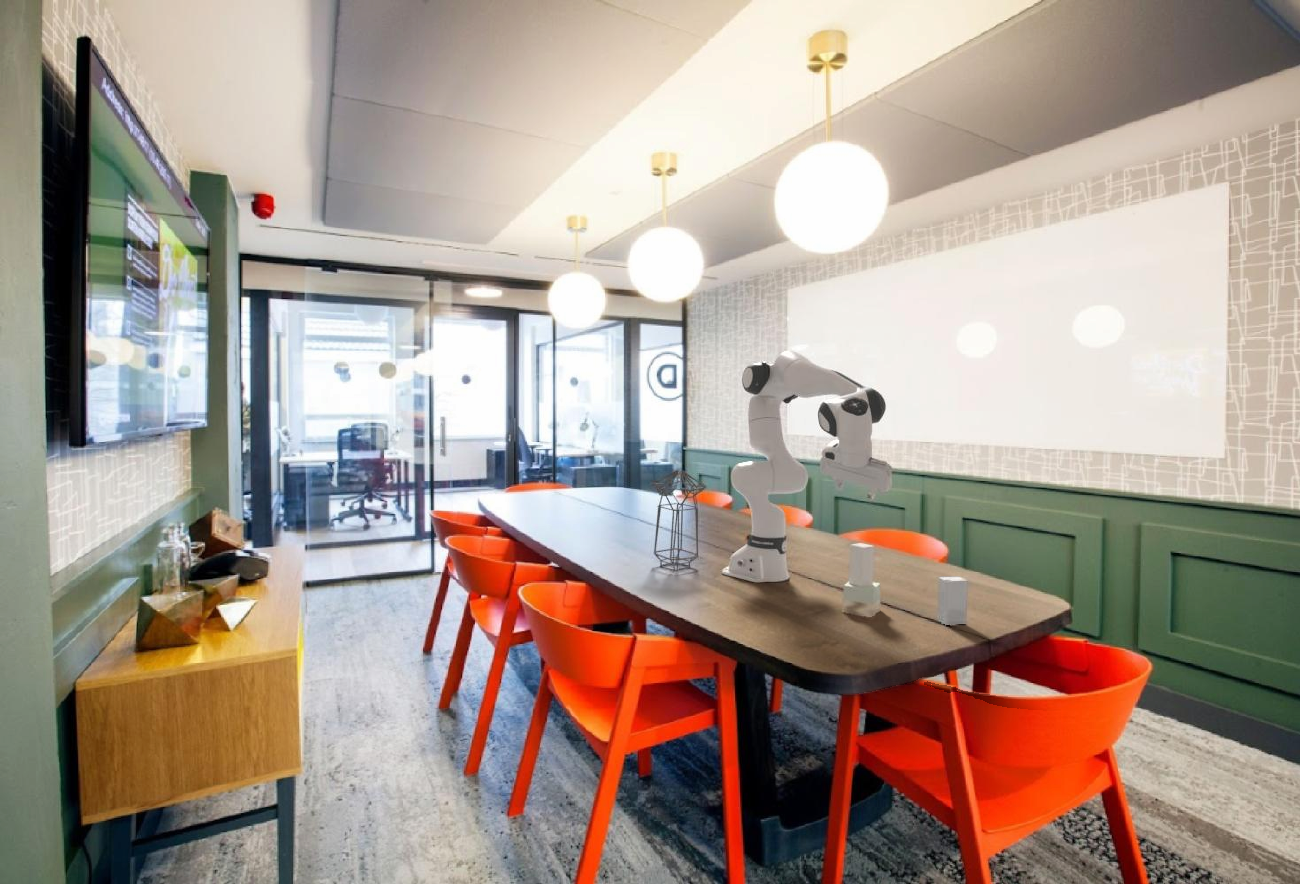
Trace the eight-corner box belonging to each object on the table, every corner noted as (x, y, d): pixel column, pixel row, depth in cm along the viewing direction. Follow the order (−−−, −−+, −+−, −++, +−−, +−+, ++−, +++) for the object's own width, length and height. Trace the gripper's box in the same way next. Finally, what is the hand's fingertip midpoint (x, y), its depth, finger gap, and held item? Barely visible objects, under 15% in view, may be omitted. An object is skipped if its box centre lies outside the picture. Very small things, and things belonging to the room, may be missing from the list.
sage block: (843, 599, 174) (843, 585, 174) (851, 592, 180) (851, 579, 180) (872, 604, 169) (873, 590, 169) (879, 597, 176) (880, 583, 176)
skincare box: (957, 620, 168) (959, 575, 168) (967, 626, 164) (969, 580, 163) (935, 620, 168) (937, 576, 167) (945, 626, 163) (946, 580, 162)
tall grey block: (862, 587, 172) (863, 547, 171) (848, 583, 176) (850, 544, 175) (872, 585, 174) (874, 546, 174) (859, 581, 178) (860, 542, 177)
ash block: (842, 613, 174) (842, 599, 174) (851, 606, 181) (852, 592, 180) (871, 619, 169) (871, 604, 169) (880, 611, 176) (880, 597, 176)
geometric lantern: (676, 559, 233) (680, 466, 231) (706, 569, 221) (710, 471, 219) (644, 565, 223) (647, 468, 221) (673, 576, 211) (677, 473, 209)
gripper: (897, 457, 168) (895, 497, 175) (827, 439, 181) (828, 477, 188) (886, 469, 164) (885, 510, 171) (816, 450, 177) (818, 489, 184)
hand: (855, 493), depth 180 cm, fingers open, 8 cm apart
